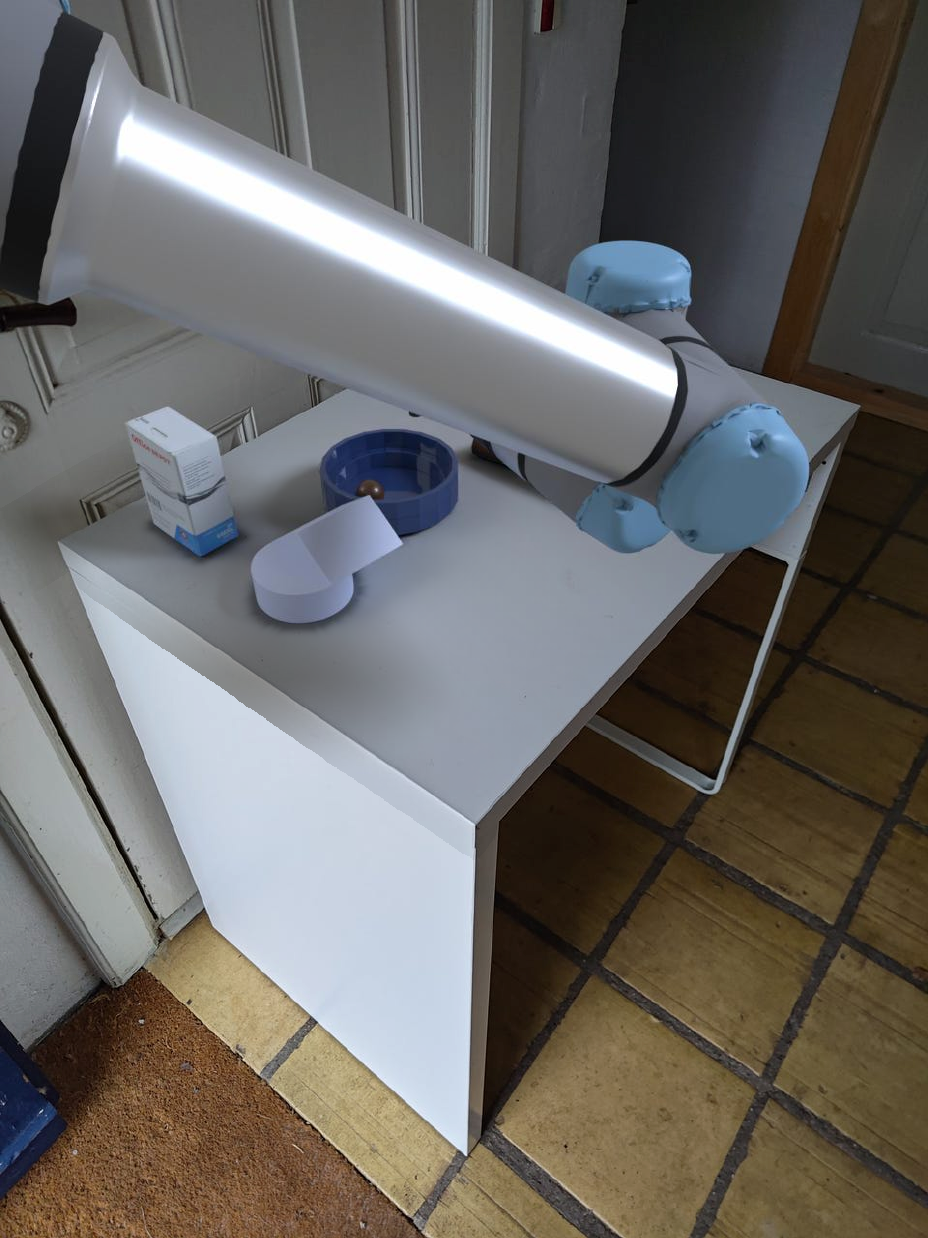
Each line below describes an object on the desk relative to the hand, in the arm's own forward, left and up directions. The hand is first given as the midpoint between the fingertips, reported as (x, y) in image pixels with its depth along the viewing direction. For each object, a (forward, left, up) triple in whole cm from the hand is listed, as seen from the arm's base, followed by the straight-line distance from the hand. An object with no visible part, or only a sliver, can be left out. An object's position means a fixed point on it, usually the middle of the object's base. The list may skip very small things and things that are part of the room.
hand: (385, 314), depth 83 cm
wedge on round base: (-6, -18, -19) cm, 26 cm away
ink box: (-20, -10, -19) cm, 29 cm away
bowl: (0, -4, -18) cm, 19 cm away
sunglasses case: (+18, +2, -19) cm, 26 cm away
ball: (-2, -6, -16) cm, 18 cm away
